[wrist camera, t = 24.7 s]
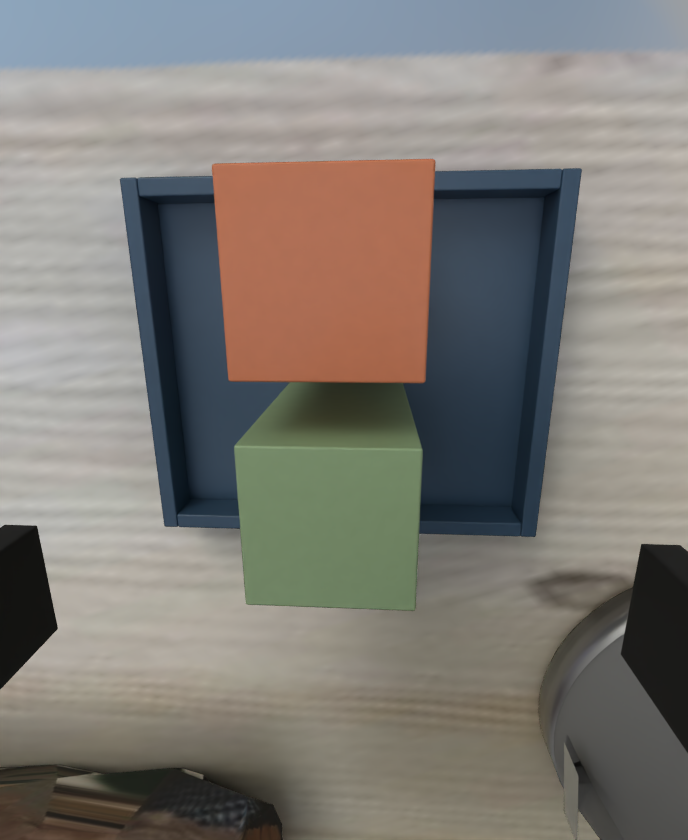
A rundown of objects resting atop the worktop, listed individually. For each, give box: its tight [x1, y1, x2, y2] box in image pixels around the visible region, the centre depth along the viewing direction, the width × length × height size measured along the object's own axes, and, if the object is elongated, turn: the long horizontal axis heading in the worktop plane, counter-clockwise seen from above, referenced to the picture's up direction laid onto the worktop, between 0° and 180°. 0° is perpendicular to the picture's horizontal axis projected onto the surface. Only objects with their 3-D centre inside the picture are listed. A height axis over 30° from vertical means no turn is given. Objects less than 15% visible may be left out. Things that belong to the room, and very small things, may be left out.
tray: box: [120, 168, 582, 537], centre depth 18 cm, size 15×13×2 cm
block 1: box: [212, 159, 435, 383], centre depth 14 cm, size 4×4×8 cm
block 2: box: [234, 382, 423, 611], centre depth 15 cm, size 4×4×8 cm
